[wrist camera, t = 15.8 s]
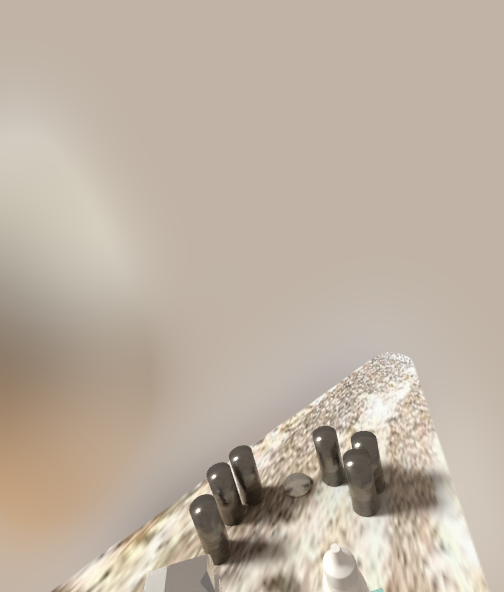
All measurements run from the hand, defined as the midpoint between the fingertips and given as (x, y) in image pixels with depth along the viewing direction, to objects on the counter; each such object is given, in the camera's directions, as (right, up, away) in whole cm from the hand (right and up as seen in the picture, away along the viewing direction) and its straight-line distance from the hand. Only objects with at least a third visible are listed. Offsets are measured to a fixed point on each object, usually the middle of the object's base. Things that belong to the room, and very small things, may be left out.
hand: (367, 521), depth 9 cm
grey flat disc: (+3, -20, +40) cm, 45 cm away
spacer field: (+2, -21, +37) cm, 43 cm away
